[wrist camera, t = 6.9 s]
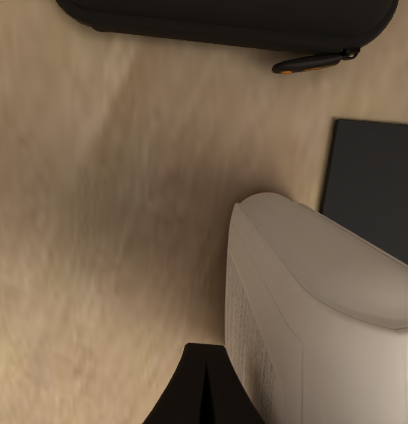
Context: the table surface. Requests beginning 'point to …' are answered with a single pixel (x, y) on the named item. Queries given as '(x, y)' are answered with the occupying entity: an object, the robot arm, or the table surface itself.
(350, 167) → the desk pad
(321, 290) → the photo printer
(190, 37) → the carrying case
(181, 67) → the table surface
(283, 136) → the table surface
